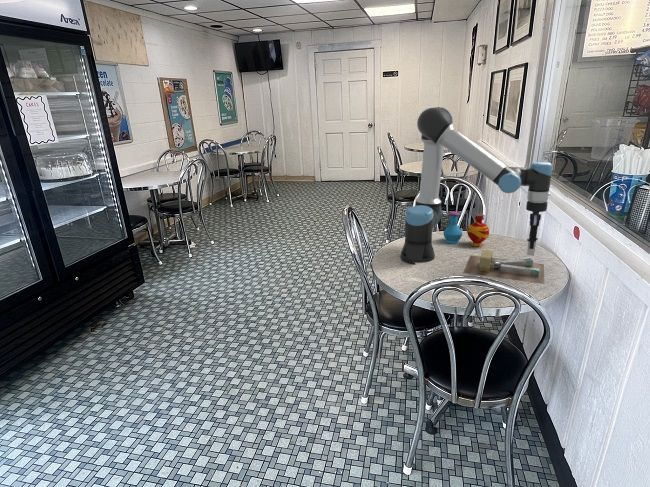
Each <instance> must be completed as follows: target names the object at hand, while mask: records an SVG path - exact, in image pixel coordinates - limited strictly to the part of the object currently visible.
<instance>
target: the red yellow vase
mask: <svg viewBox="0 0 650 487" xmlns="http://www.w3.org/2000/svg"><path fill="white" fill-rule="evenodd" d="M474 220H475V221H473V222H472V223H470V224H469V225H468V227H467V230H466V233H467V236H468V238H469V239H470V241H471V245H472V246H474V247H482V246H483V242H484V241H485V240H487V239H488V238H489V236H490V228H489V226H488V225H487V224H486V223H484V222H483V221H484V220H485V214H483V213H476V214H474Z"/></svg>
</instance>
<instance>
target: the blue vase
mask: <svg viewBox="0 0 650 487" xmlns="http://www.w3.org/2000/svg"><path fill="white" fill-rule="evenodd" d="M459 215H460V213H459V212H458V211H451V212H449V225H448V226H447V227H446V228H445V229H444V230H443V233H442V234H443V237H444V239H445V242H446V243H448V244H459V243H460V240H461V238H462V237H463V231H462V230H461V228H460V227H459V225H458V219H459V218H458V217H459Z"/></svg>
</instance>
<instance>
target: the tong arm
mask: <svg viewBox="0 0 650 487" xmlns="http://www.w3.org/2000/svg"><path fill="white" fill-rule="evenodd" d="M533 263H534V260H533V259H532V258H523V259H520V258H519V259H506V260H503V261H501V260H495V261H492V264H494V265H499V268H501V264H504V265H512V266H520V267H527V266H533Z"/></svg>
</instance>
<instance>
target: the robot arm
mask: <svg viewBox="0 0 650 487" xmlns="http://www.w3.org/2000/svg"><path fill="white" fill-rule="evenodd" d="M416 122H417V123H416V126H417V129H418V131H419V133H420V134H421V135H420V136H421V141H422V142H423V152H422V153H423V154H422V164H421V174H420V176H421V177H420V186H419V194H418V195H419V196H418V197H417V198H416V199H415V202H414V206H410V207H408V208H407V209H406V211H405V215H404V216H405V217H404V219H405V221H404V222H405V223H404V224H405V226H404V227H405V228H404V244H403V246H402V249H401V252H400V260H401V261H402V262H404V263H407V264H410V265H416V263H417V264H418V263H429V262H431V261H433V260H434V259H435V258H436V254H435V250H434V247H433V244H432V242H433V241H432V239H433V238H432V237H433V229H434V228H435V227H436V226H437V225H438V224H439V223H440V221H441V219H442V216H443V215H442V214H443V210H442V208H441V207H442V199H440V197H439V196H440V195H439V194H440V188H441V186H440V185H441V179H442V178H441V177H442V171H443V170H442V167H443V159H444V151H445V149H447V150H448V151H449V152H450V153H452V154H454V155H455V156H456V157H458V158H459V159H461V160H462V161H464V162H465V163H467V164H468V165H469V166H470V167H472V168H473V169H474V170H476V171H477V172H478V173H480V174H481V175H483V176H484V177H486V178H487V179H488V180H490V181H491V182H493V183H494V184H495V185H496V186H498V188H499V190H500V191H502V192H503V193H506V194H513V193H515V192H517V191H518V190H519V189H520V188H521V187H528V189H527V196H526V197H527V198H526V200H527V201H526V206H525V209H526V211H528V212H532V213H530V214H529V226H530V227H529V235H528V238H527V239H526V242H528V243H527V251H526V256H529V257H530V256H531V257H534V256H535V251H536V244H537V241H538V240H539V238H538V236H537V235H538V228H539V227H540V222H541V218H542V214H540V213H544V212H546V211H547V210H548V204H549V203H548V200H549V196H551V192H550V187H551V181H552V175H553V174H552V173H553V172H552V171H553V164H552V163H551V162H547V161H533V162H532V163H531V164H530V166H529V167H525V166H524V167H523V166H522V167H521V166H520V167H519V166H515V167H514V166H507V165H506V164H504V163H503V162H502V161H500V160H499V159H497V158H496V157H494V156H493V155H492V154H490V153H489V152H488V151H487V150H484V149H483V148H482V147H481V146H479V145H478V144H477V143H475V142H474V141H472V140H470V138H468V137H466V136H465V135H464V134H462V133H461V132H459V131H458V130H456V129H455V128H454V124H453V122H454V121H453V116H452V113H451V112H450V111H449V110H448V109H446V108H445V107H440V106H437V107H429V108H425V109H424V110H423V111H422V112H421V113H420V114H419V116H418V118H417V121H416ZM434 261H435V260H434Z"/></svg>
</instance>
